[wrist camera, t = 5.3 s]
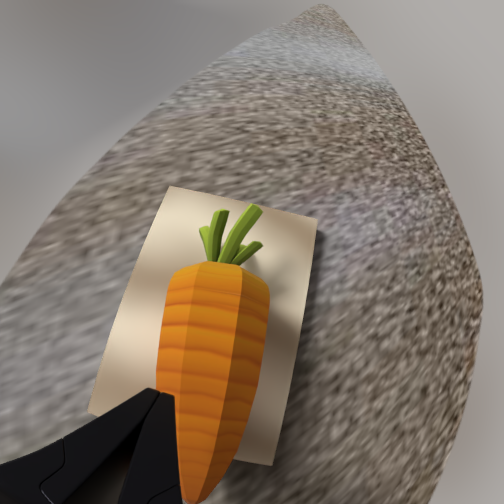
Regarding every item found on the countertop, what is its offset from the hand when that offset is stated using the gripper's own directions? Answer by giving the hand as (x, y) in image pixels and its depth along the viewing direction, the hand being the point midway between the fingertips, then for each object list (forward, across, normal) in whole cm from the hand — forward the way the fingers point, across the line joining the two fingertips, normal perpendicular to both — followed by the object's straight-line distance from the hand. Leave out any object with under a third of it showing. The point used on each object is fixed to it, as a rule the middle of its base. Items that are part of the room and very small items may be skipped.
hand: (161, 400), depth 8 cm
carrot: (0, -2, +7) cm, 7 cm away
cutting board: (+9, 0, +2) cm, 10 cm away
